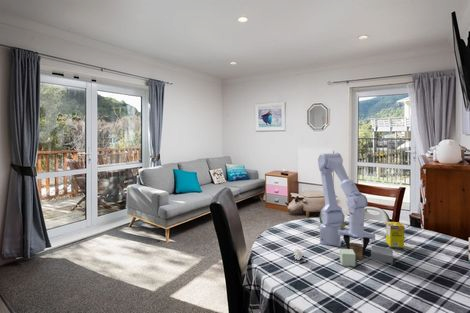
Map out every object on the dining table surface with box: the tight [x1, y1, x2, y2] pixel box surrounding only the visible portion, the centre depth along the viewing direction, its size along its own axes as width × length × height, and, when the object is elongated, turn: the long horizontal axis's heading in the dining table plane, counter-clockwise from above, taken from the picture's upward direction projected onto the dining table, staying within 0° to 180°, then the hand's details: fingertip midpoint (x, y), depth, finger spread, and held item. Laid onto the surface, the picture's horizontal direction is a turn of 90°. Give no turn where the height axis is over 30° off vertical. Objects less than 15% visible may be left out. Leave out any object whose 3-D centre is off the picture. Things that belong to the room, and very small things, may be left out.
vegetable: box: [319, 210, 346, 230], centre depth 154 cm, size 12×13×15 cm
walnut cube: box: [350, 241, 363, 261], centre depth 117 cm, size 5×5×5 cm
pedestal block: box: [370, 245, 394, 265], centre depth 116 cm, size 8×8×4 cm
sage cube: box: [339, 248, 356, 267], centre depth 111 cm, size 5×5×5 cm
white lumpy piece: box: [293, 249, 304, 261], centre depth 116 cm, size 9×8×4 cm
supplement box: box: [385, 221, 405, 250], centre depth 127 cm, size 6×6×11 cm
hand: (356, 253), depth 117 cm, fingers closed on walnut cube, 5 cm apart
